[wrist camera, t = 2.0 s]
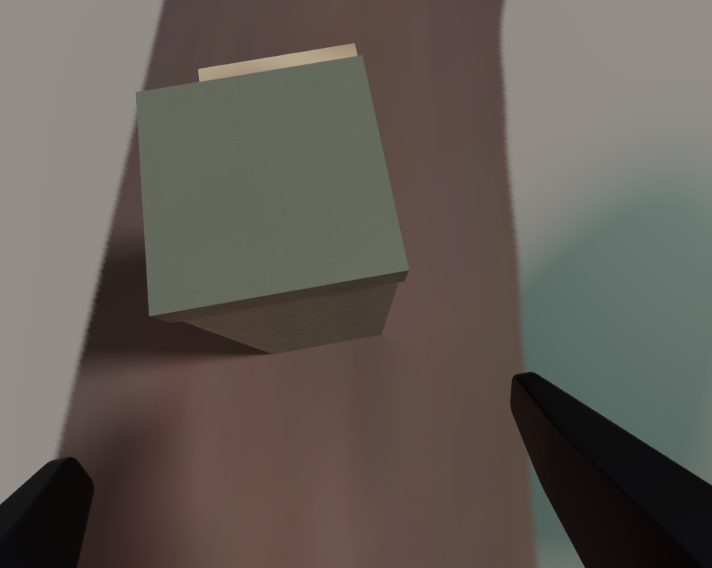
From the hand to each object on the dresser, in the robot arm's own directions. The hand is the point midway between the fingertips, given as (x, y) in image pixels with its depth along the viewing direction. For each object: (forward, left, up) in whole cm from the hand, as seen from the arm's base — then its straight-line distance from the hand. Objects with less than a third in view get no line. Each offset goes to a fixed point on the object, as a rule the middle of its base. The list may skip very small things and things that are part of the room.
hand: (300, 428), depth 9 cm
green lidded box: (+6, 0, -12) cm, 13 cm away
